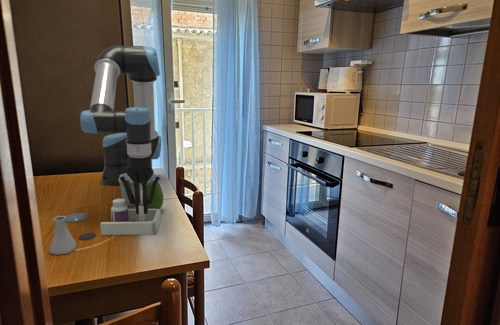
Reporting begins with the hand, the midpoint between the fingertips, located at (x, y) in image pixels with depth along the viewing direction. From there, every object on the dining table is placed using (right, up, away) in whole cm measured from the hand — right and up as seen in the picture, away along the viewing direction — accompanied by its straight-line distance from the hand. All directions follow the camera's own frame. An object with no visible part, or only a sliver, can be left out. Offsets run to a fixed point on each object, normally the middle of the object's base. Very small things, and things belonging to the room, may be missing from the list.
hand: (142, 222), depth 114 cm
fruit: (0, +2, +14) cm, 14 cm away
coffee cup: (-11, +4, +20) cm, 24 cm away
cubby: (-4, -1, 0) cm, 4 cm away
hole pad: (-15, -3, -8) cm, 17 cm away
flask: (-18, -5, -16) cm, 25 cm away
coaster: (-26, +1, +5) cm, 26 cm away
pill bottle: (-7, -2, -1) cm, 8 cm away
